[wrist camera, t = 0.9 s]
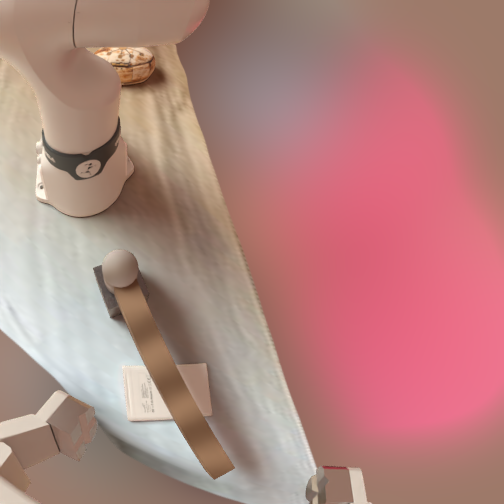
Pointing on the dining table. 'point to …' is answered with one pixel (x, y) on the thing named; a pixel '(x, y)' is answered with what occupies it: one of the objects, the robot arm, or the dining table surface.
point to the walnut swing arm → (162, 362)
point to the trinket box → (129, 63)
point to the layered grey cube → (109, 297)
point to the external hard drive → (150, 401)
